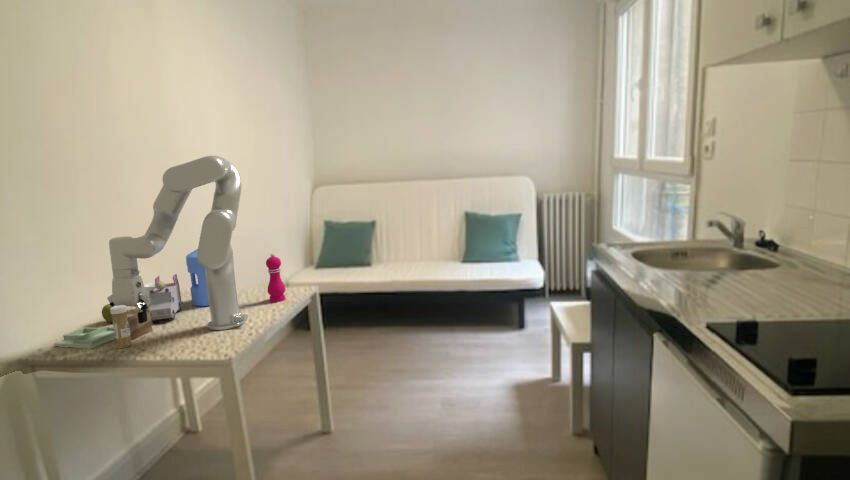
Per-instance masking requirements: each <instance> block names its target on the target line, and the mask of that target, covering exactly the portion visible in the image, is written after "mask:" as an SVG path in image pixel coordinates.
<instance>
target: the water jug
mask: <svg viewBox="0 0 850 480" xmlns="http://www.w3.org/2000/svg"><path fill="white" fill-rule="evenodd" d="M197 252H198V248H197V249H195V250H193V251H192V252H190V253H189V254H187V255H186V257H185V263H186V267H187V273H189V275H190V283H191V287H190V289H189V290H190V295H191V303H192V305H193V306H195V307H210V306H209V299H208V291H207V283H206V275H205V268H204V267H202V266H201V265H200V263H199V261H198V258H197ZM196 279H197V280H196Z"/></svg>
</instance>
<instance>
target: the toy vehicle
mask: <svg viewBox="0 0 850 480" xmlns="http://www.w3.org/2000/svg"><path fill="white" fill-rule="evenodd" d="M172 280H173V282H171V283H165V282H164V281H161V280H160V275H157V276H156V278H154V283H155V287H156V288H155V289H154V290H151V291H150V293H149V297H150V299H151V302H150V308H149V309H148V312H149V313H150V318H151V323H157V322H158V320H163V319H164V320H165V319H168V320H169V321H174V320H175V319H176V318H175V317H176V313H179V312H181V309H182V306H183V301H182V296H181V289H180V282H179V280H178V275H177V273H175V274H174V275H173V276H172ZM163 282H164V283H165V284H164V283H163Z"/></svg>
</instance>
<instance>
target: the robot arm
mask: <svg viewBox="0 0 850 480" xmlns="http://www.w3.org/2000/svg"><path fill="white" fill-rule="evenodd" d="M214 182H215V189H214V194H213V197H212V198H213V199H212V205H211V210H210V212H209V213H207V214H206V215H205V217H204V219H203V222H202V225H201V230H200V236H199V239H198V240H199V241H198V247H197V249H198V252H197V258H198V261H199V263H200V265H201V266H202V267H204V268H205V275H206V283H207V291H208V299H209V306H208V307H209V313H210V320H211V321H209V322H208V323H207V325H206V327H207V329H209V330H211V331H212V330H213V331H223V330H229V329H233V328H236V327H239V326H241V325H243V324H245V322H247V321H248V318H249V314H246V313H245V314H243V312H242V310H241V309H240V307H239V300H238V299H239V298H238V292H237V284H236V276H235V266H234V265H235V264H234V252H233V247H232V245H231V241H232V240H231V239H232V235H233V231H234V230H235V229H236V225H237V218H238V212H239V207H240V198H241V194H242V193H241V192H242V179H241V175H240V173H239V171H238V169H237V168H236V166H234V164H233V163H231V162H230V161H229V160H228V159H226V158H225V157H223V156H219V155H207V156H203V157H199V158H197V159H193V160H191V161H187V162H184V163H182V164H176V165H173V166H171V167H169V168H167V169H166V170H165V171H164V173H163V175H162V184H163V185H162V187H161V189H160V190H159V193H158V194H157V196H156V198H155V200H154V202H153V205H152V209H153V217H152V220H151V222H150V224H149V225H148V228H147V230H146V232H145V233H144V234H143V235H142V236H139V237H138V236H137V237H132V236H118V237H112V238H110V240H109V241H108V245H109V254H110V261H111V270H112V271H111V272H112V280H111V281H112V283H111V293H112V294H110V295H109V296H107V299H106V300H107V301H108V302H109V303H108V304H110V305H111V306H112V307H114V306H119V305H125V306H126V307H134V308H136V310H137V311H138V312H137V313H138V321H139V323H144V322H146V321H147V312H148V311H149V309H148V307H149V306H150V302H151V299H150V298H149V297H147V296H146V293H145V288H144V285H145V283H144V281H143V278H142V276H141V275H140V270H139V266H138V259H150V258H152V257H154V256H155V255H157V254H158V253H159V254H160V252H162V250H163V249H164V248H165V246H166V244H167V242H169V238H170V236H171V235H172V233H173V231H174V229H175V227H176V224H177V221H178V219H179V216H180V214H181V212H182V211H183V208H184V206H185V204H186V202H187V200H188V198H189V196H190V195H191V193H192V191H193V189H195V188H199V187H202V186H205V185H207V184H211V183H214Z"/></svg>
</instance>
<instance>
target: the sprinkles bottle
mask: <svg viewBox="0 0 850 480" xmlns="http://www.w3.org/2000/svg"><path fill="white" fill-rule="evenodd" d="M127 312H128V309H127V306H125V305H119V306H114V307H111V308H110V313H111V315H112V320H113V323H112V327H113V328H114V334H115V344H116V348H118V349H125V348H128V347H130V346H132V345H133V341H131V336H130V335H131V334H130V328H129V323H128V318H127V317H128V313H127Z"/></svg>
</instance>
